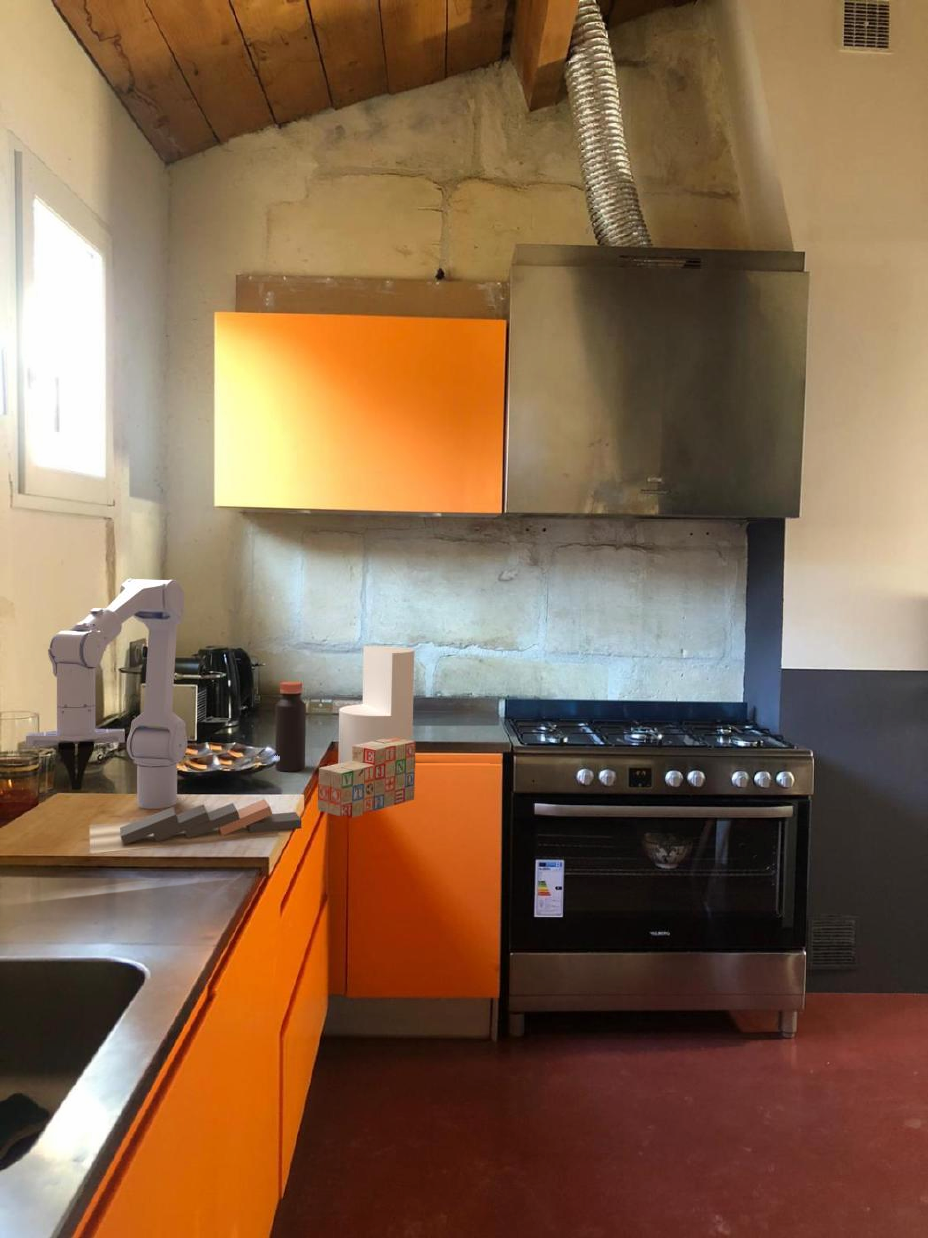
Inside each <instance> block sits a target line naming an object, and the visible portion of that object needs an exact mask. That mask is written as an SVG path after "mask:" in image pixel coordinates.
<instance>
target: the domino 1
mask: <svg viewBox="0 0 928 1238" xmlns="http://www.w3.org/2000/svg"><path fill="white" fill-rule="evenodd" d="M176 815H177V814H176V811H175V807H174V806H170V807H168V808H167V809H165V810H161V811H159V812H157V813H155V814H152V815H149V816H146V817H144V818H141V819H139V820H135V821H136V822H133V823H131V824H128V825H126V826H123V827H121V828H120V835H121V839H122V842H123V844H124V845H126V844H129V843H131V842H134V841H136V840H139V839H141V838H143V837H146V836H148V835H151V834H153V833H156V832H158V831H161V830H163V829H166V828H168V827H171V826H173V825H176V824H178V819H177V816H176Z"/></svg>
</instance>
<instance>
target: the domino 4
mask: <svg viewBox="0 0 928 1238" xmlns="http://www.w3.org/2000/svg"><path fill="white" fill-rule="evenodd" d="M237 812H238V815H239V818H240V819H239V820H236V821H233V822H231V823H228V824H226V825H223V826H221V827H218V828H219V830H220V832H221V834H222V836H224V835H226V834H228V833H231V832H233V831H235V830H238V829H240V828H242V827H245V826H247V825H249V824H252V823H254V822H256V821H259V820H261V819H263V818H266V817H268V816H270V815H273V814H274V813H273V812H272V809H271V806H270V805H269V803H268V802H267V800H266V799H265V798H263V799H261V800H259V801H256V802H253V803H251V804H249V805H247V806H246V805H245V806H244V807H242V808H239V809H237Z"/></svg>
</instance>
